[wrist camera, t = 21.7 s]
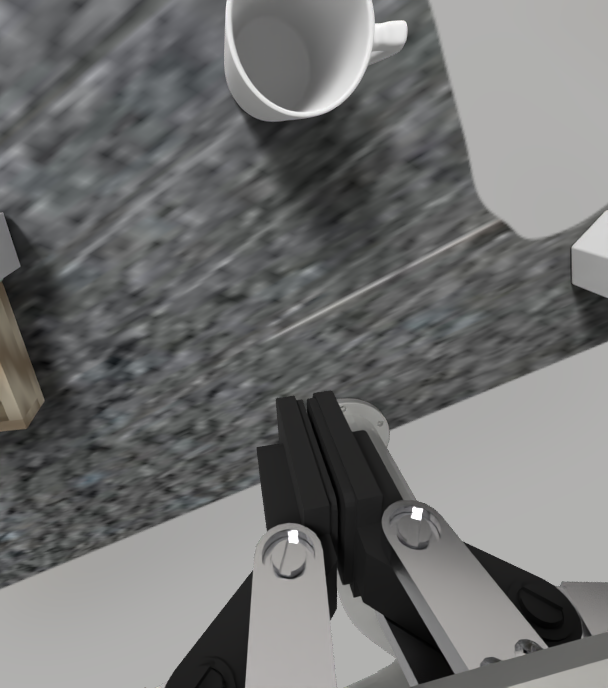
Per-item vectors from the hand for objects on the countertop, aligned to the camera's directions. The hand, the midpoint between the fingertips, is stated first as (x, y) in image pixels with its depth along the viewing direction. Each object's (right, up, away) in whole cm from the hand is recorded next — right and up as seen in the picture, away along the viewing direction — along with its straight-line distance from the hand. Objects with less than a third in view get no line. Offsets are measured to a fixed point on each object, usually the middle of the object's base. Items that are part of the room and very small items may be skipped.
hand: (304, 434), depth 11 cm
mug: (-1, +23, +16) cm, 28 cm away
